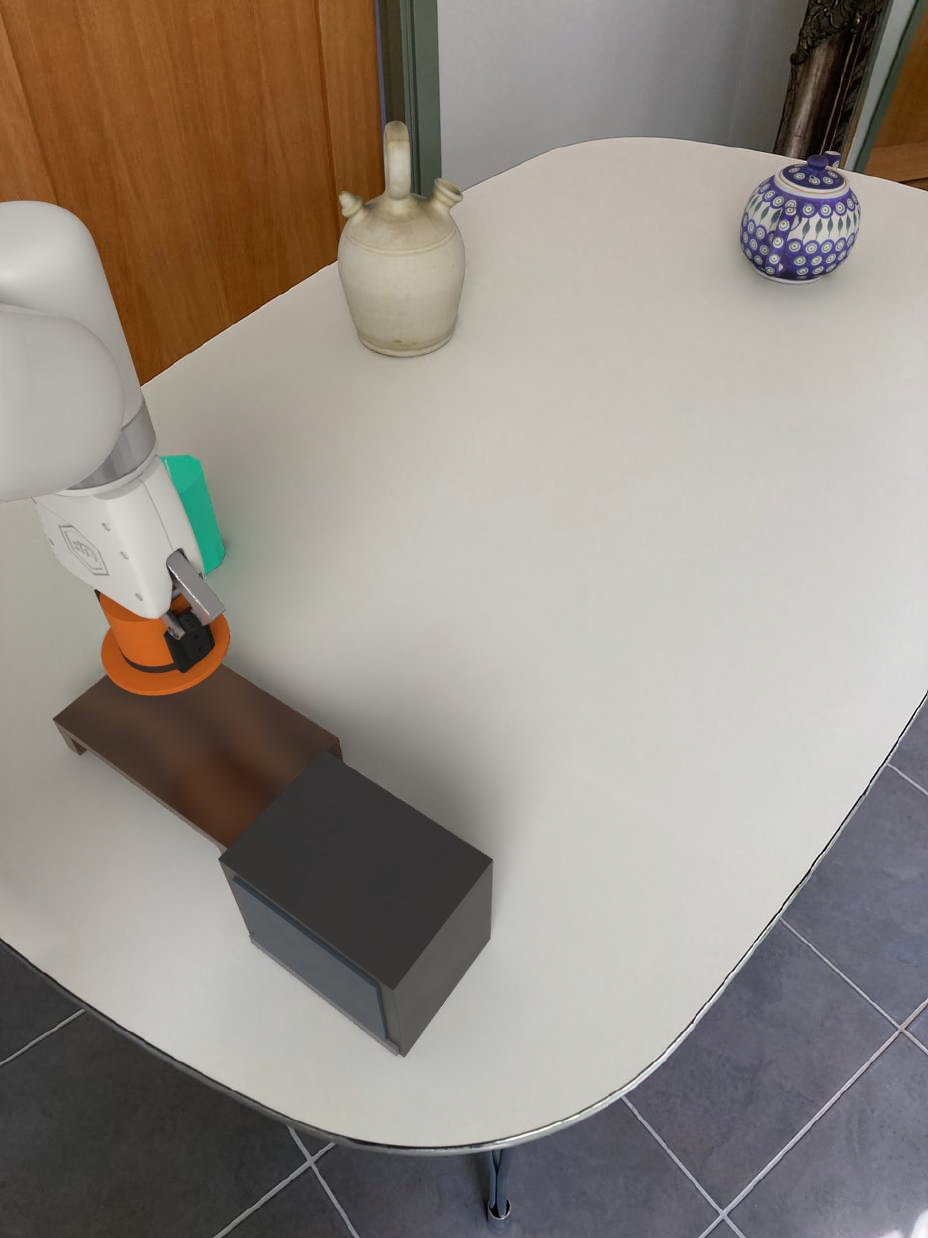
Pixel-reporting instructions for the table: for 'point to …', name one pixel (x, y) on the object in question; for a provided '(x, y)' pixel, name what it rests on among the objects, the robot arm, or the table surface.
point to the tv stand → (199, 747)
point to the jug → (402, 259)
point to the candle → (197, 506)
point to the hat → (153, 651)
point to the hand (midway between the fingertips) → (162, 635)
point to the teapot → (801, 221)
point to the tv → (362, 899)
